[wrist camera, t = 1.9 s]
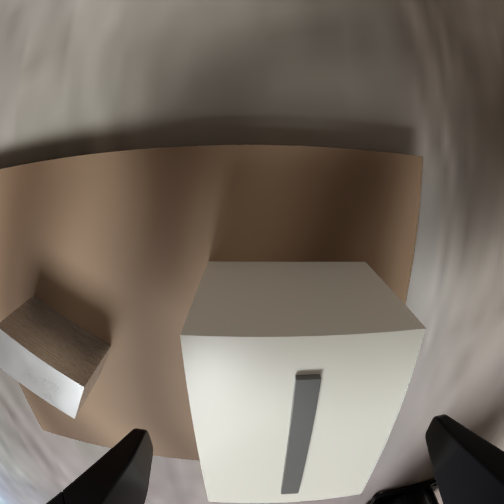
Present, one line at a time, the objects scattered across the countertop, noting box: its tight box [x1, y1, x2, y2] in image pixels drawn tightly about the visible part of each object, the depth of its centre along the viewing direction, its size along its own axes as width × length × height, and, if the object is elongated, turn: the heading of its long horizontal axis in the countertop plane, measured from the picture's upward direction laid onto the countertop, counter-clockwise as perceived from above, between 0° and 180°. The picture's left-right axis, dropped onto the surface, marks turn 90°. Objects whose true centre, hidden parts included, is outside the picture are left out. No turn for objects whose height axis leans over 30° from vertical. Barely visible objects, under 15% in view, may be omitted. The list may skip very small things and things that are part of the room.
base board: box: [0, 145, 423, 460], centre depth 14 cm, size 20×16×2 cm
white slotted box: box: [180, 261, 426, 503], centre depth 10 cm, size 6×8×5 cm
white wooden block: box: [0, 296, 111, 419], centre depth 11 cm, size 2×4×3 cm, turn 60°
